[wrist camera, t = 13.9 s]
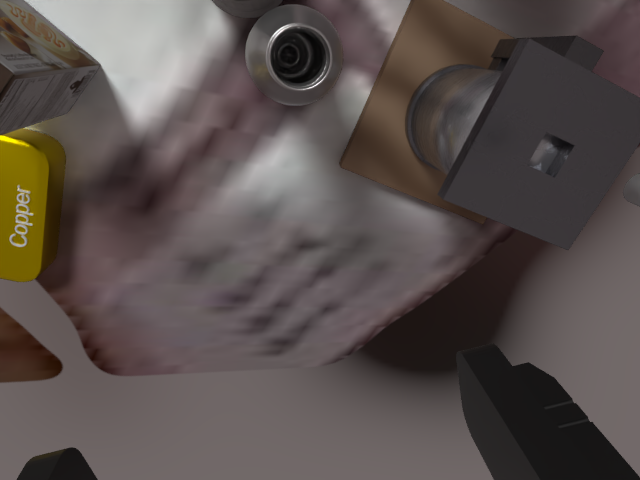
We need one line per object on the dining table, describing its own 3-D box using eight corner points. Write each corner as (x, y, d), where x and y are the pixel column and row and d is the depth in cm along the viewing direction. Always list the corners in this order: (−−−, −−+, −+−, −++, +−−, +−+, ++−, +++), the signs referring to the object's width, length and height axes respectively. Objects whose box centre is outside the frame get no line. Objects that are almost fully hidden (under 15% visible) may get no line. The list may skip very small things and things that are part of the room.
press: (445, 20, 42) (548, 2, 27) (538, 68, 45) (682, 78, 29) (384, 148, 46) (443, 199, 31) (472, 186, 49) (568, 250, 33)
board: (415, -10, 42) (420, -12, 41) (564, 69, 47) (573, 69, 45) (338, 164, 48) (340, 167, 47) (477, 220, 52) (483, 224, 51)
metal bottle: (320, 91, 45) (354, 120, 27) (252, 87, 44) (240, 114, 26) (325, 21, 43) (365, -2, 24) (253, 15, 42) (239, -12, 24)
